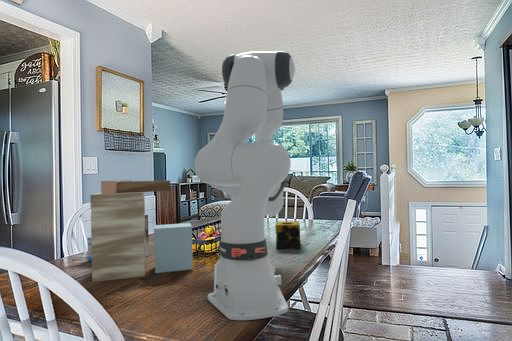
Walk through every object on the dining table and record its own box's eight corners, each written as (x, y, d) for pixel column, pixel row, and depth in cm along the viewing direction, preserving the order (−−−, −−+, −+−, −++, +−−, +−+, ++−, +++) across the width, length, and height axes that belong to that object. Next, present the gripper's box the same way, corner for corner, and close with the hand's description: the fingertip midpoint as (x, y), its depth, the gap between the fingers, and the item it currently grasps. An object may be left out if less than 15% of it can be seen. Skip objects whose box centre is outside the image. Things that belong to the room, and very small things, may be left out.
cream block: (132, 191, 116) (132, 179, 116) (120, 192, 114) (120, 180, 114) (130, 191, 119) (129, 179, 119) (118, 192, 117) (118, 180, 117)
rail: (170, 190, 115) (170, 180, 115) (108, 193, 109) (108, 182, 109) (170, 190, 118) (169, 180, 118) (109, 192, 112) (109, 182, 112)
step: (192, 269, 114) (191, 226, 114) (155, 273, 111) (154, 228, 111) (190, 263, 122) (189, 223, 122) (155, 266, 118) (154, 225, 118)
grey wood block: (145, 276, 107) (143, 192, 108) (92, 281, 103) (90, 194, 103) (146, 265, 120) (144, 190, 120) (99, 270, 116) (97, 192, 116)
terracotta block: (115, 193, 105) (115, 180, 105) (101, 194, 104) (100, 181, 104) (116, 193, 109) (116, 180, 109) (103, 193, 108) (102, 180, 108)
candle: (300, 244, 150) (299, 221, 150) (301, 249, 140) (300, 224, 140) (276, 244, 151) (276, 221, 151) (275, 249, 141) (275, 224, 141)
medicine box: (87, 260, 129) (86, 237, 129) (97, 258, 133) (97, 235, 133) (101, 263, 126) (100, 239, 126) (111, 260, 130) (111, 237, 130)
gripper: (236, 182, 134) (203, 169, 130) (252, 186, 115) (214, 171, 110) (230, 197, 133) (197, 184, 129) (245, 204, 114) (207, 189, 110)
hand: (205, 178), depth 120 cm, fingers open, 8 cm apart
